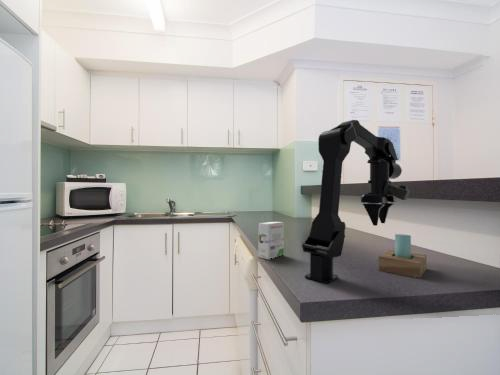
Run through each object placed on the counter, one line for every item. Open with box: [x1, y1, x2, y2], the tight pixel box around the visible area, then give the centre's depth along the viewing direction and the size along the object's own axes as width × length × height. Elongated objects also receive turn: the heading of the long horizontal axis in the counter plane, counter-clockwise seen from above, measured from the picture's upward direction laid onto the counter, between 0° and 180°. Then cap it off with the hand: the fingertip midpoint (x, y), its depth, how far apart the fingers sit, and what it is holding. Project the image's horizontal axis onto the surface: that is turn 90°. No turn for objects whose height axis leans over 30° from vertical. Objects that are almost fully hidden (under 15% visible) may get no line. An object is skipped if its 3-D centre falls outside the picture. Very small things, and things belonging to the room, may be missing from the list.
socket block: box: [378, 249, 428, 278], centre depth 74 cm, size 12×10×4 cm
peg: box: [394, 233, 412, 259], centre depth 74 cm, size 4×4×10 cm
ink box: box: [257, 221, 285, 260], centre depth 88 cm, size 8×5×12 cm, turn 135°
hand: (379, 224), depth 84 cm, fingers open, 9 cm apart
